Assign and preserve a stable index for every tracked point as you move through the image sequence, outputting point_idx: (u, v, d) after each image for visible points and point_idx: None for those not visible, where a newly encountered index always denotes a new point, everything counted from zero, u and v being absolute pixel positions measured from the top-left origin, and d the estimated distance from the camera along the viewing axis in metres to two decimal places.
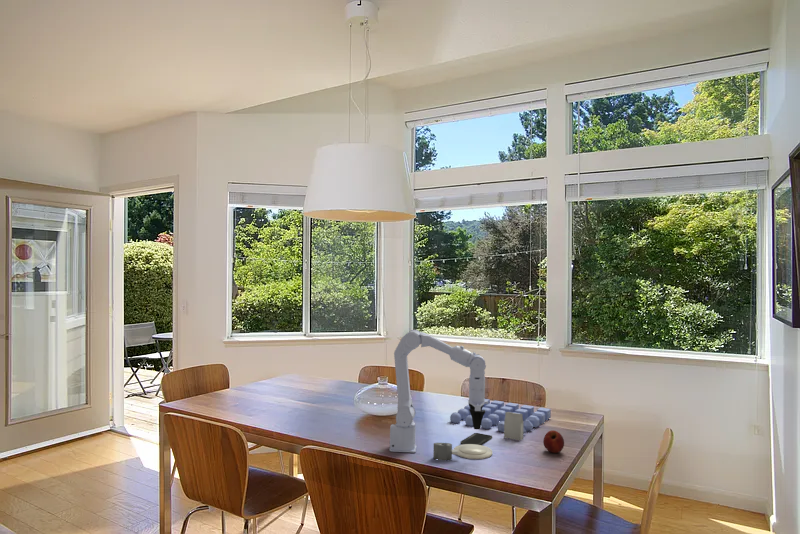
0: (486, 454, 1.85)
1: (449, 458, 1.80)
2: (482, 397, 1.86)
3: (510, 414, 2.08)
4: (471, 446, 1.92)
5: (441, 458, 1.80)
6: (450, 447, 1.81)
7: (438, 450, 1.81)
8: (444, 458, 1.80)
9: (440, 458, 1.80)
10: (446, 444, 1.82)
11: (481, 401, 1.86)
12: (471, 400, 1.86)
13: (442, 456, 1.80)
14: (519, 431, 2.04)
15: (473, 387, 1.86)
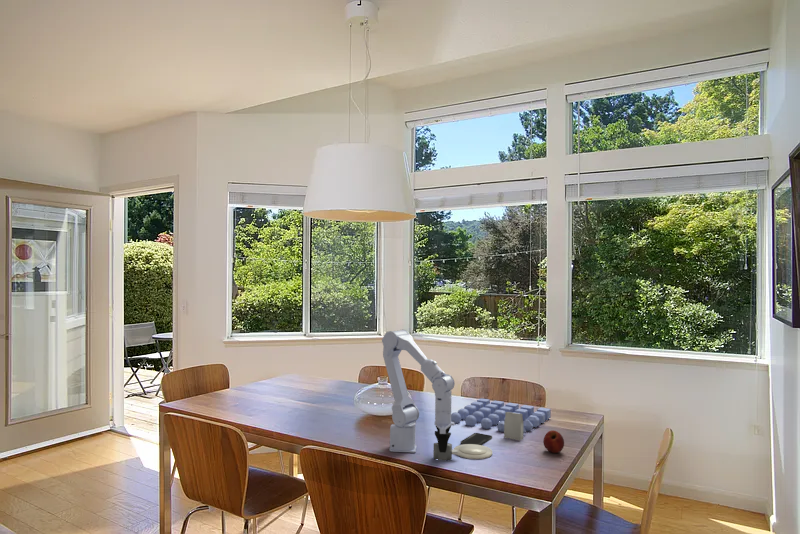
0: (486, 454, 1.85)
1: (449, 458, 1.80)
2: (448, 419, 1.80)
3: (510, 414, 2.08)
4: (471, 446, 1.92)
5: (441, 458, 1.80)
6: (450, 447, 1.81)
7: (438, 450, 1.81)
8: (444, 458, 1.80)
9: (440, 458, 1.80)
10: None
11: (447, 423, 1.80)
12: (437, 422, 1.81)
13: (442, 456, 1.80)
14: (519, 431, 2.04)
15: (436, 408, 1.81)
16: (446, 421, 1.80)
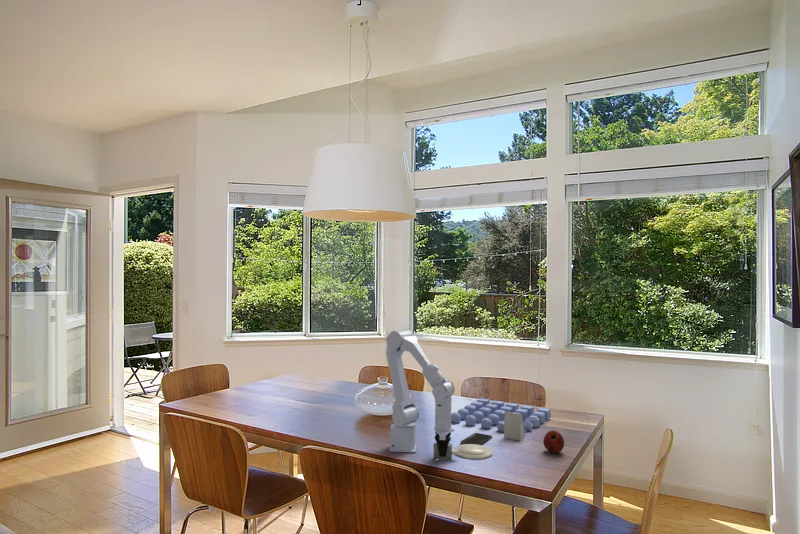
0: (486, 454, 1.85)
1: (449, 458, 1.80)
2: (448, 425, 1.80)
3: (510, 414, 2.08)
4: (471, 446, 1.92)
5: (441, 458, 1.80)
6: (450, 447, 1.81)
7: None
8: (444, 458, 1.80)
9: (440, 458, 1.80)
10: None
11: (447, 429, 1.80)
12: (437, 428, 1.81)
13: None
14: (519, 431, 2.04)
15: (436, 414, 1.81)
16: (446, 427, 1.80)
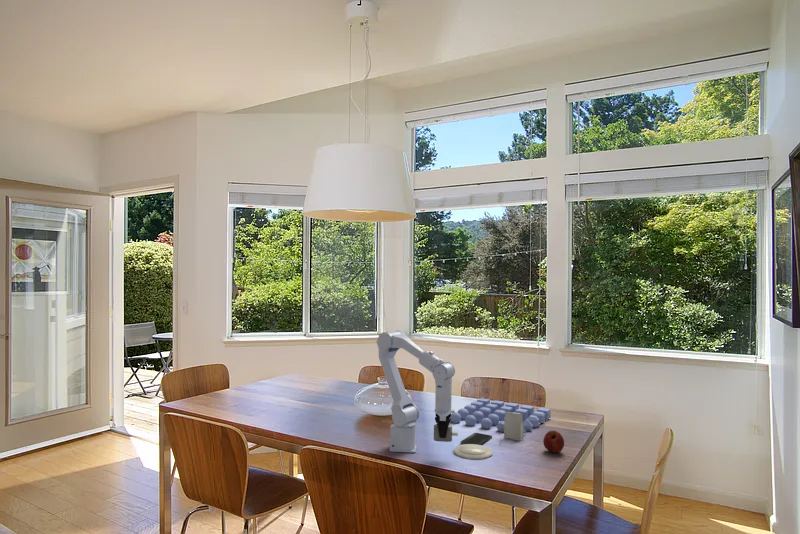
0: (486, 454, 1.85)
1: (449, 439, 1.81)
2: (448, 406, 1.80)
3: (510, 414, 2.08)
4: (471, 446, 1.92)
5: (441, 439, 1.81)
6: (450, 428, 1.81)
7: (438, 431, 1.81)
8: (444, 439, 1.80)
9: (440, 439, 1.81)
10: None
11: (447, 410, 1.80)
12: (437, 409, 1.81)
13: None
14: (519, 431, 2.04)
15: (436, 395, 1.81)
16: (446, 408, 1.80)
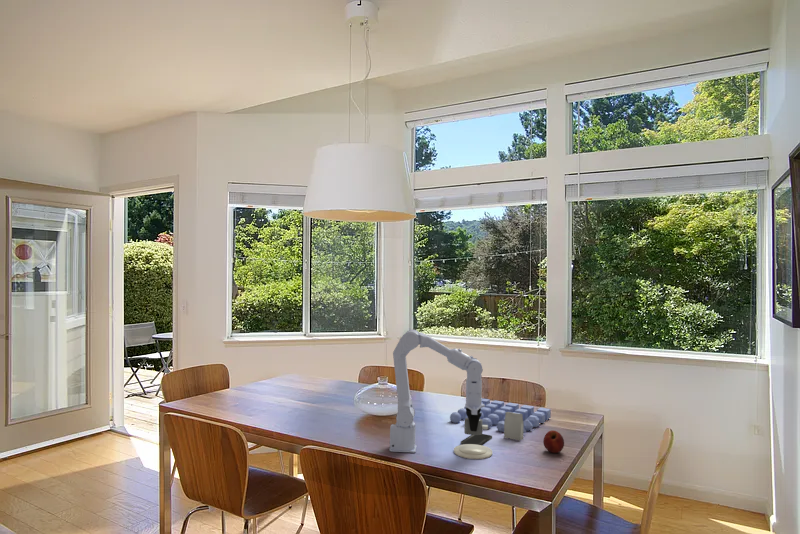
0: (486, 454, 1.85)
1: (480, 433, 1.87)
2: (479, 401, 1.87)
3: (510, 414, 2.08)
4: (471, 446, 1.92)
5: (472, 433, 1.87)
6: (481, 422, 1.88)
7: (469, 425, 1.88)
8: (475, 432, 1.87)
9: (471, 433, 1.87)
10: None
11: (478, 405, 1.87)
12: (468, 404, 1.88)
13: (473, 431, 1.87)
14: (519, 431, 2.04)
15: (470, 391, 1.87)
16: (477, 403, 1.87)
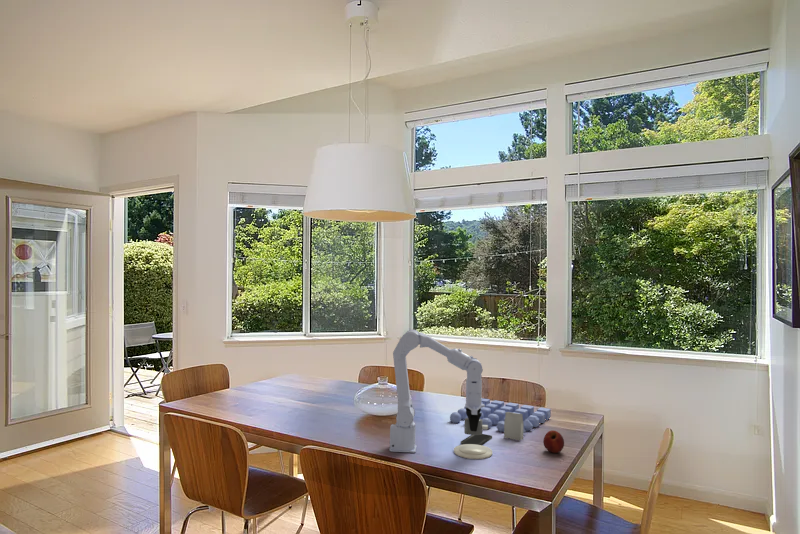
0: (486, 454, 1.85)
1: (480, 433, 1.87)
2: (479, 401, 1.87)
3: (510, 414, 2.08)
4: (471, 446, 1.92)
5: (472, 433, 1.87)
6: (481, 422, 1.88)
7: (469, 425, 1.88)
8: (475, 432, 1.87)
9: (471, 433, 1.87)
10: None
11: (478, 405, 1.87)
12: (468, 404, 1.88)
13: (473, 431, 1.87)
14: (519, 431, 2.04)
15: (470, 391, 1.87)
16: (477, 403, 1.87)
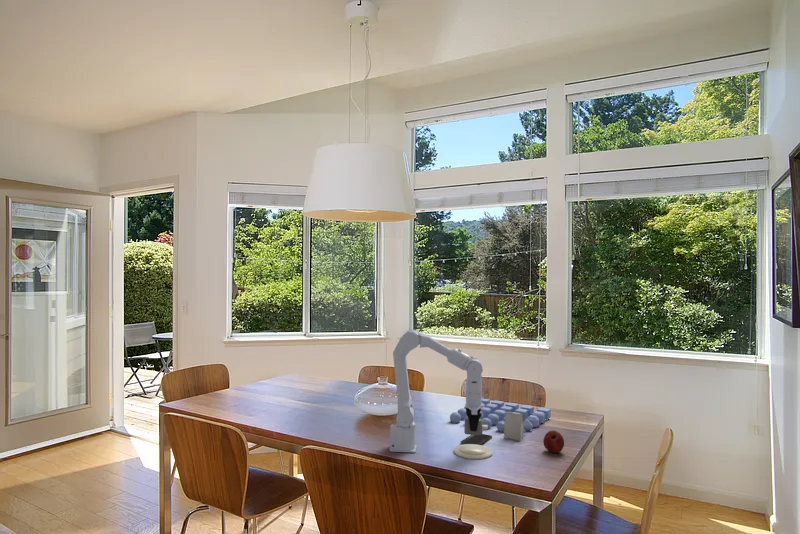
0: (486, 454, 1.85)
1: (480, 433, 1.87)
2: (479, 401, 1.87)
3: (510, 414, 2.08)
4: (471, 446, 1.92)
5: (472, 433, 1.87)
6: (481, 422, 1.88)
7: (469, 425, 1.88)
8: (475, 432, 1.87)
9: (471, 433, 1.87)
10: None
11: (478, 405, 1.87)
12: (468, 404, 1.88)
13: (473, 431, 1.87)
14: (519, 431, 2.04)
15: (470, 391, 1.87)
16: (477, 403, 1.87)
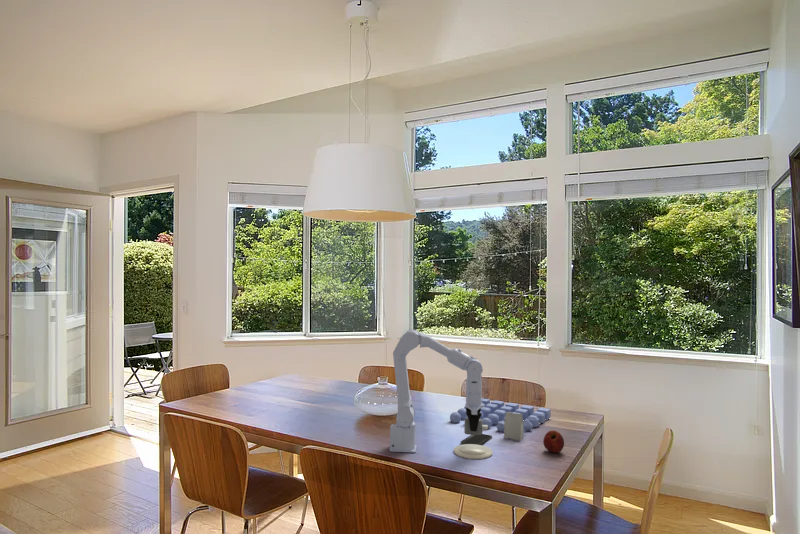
0: (486, 454, 1.85)
1: (480, 433, 1.87)
2: (479, 401, 1.87)
3: (510, 414, 2.08)
4: (471, 446, 1.92)
5: (472, 433, 1.87)
6: (481, 422, 1.88)
7: (469, 425, 1.88)
8: (475, 432, 1.87)
9: (471, 433, 1.87)
10: None
11: (478, 405, 1.87)
12: (468, 404, 1.88)
13: (473, 431, 1.87)
14: (519, 431, 2.04)
15: (470, 391, 1.87)
16: (477, 403, 1.87)
